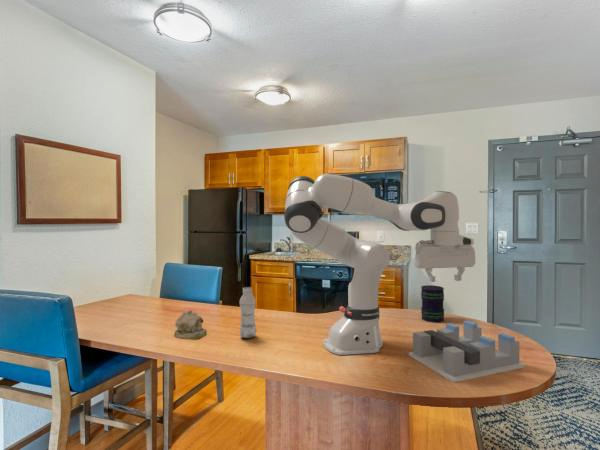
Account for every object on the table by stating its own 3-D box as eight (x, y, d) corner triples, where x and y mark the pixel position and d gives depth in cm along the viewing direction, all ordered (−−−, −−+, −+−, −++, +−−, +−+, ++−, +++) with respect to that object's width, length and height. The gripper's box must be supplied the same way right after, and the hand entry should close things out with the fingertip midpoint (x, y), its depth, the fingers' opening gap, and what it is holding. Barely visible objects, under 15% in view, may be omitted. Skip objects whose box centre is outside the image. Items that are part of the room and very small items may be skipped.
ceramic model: (167, 336, 133) (167, 312, 133) (187, 328, 144) (187, 305, 143) (194, 341, 128) (194, 316, 127) (213, 332, 138) (212, 308, 138)
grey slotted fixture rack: (453, 382, 92) (453, 349, 92) (408, 355, 111) (408, 327, 111) (524, 367, 101) (524, 337, 101) (472, 344, 120) (472, 319, 120)
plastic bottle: (259, 335, 132) (258, 286, 132) (250, 341, 126) (249, 290, 126) (246, 333, 135) (245, 285, 135) (236, 339, 129) (235, 288, 129)
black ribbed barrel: (421, 321, 148) (420, 288, 148) (421, 315, 158) (421, 284, 157) (444, 323, 145) (444, 290, 145) (443, 317, 154) (443, 286, 154)
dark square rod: (470, 365, 94) (470, 353, 94) (423, 341, 113) (423, 331, 113) (479, 363, 95) (479, 351, 95) (431, 340, 114) (431, 330, 114)
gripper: (420, 241, 104) (420, 283, 104) (478, 239, 107) (478, 281, 107) (411, 240, 111) (411, 280, 111) (465, 238, 114) (466, 278, 114)
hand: (445, 281), depth 109 cm, fingers open, 8 cm apart
